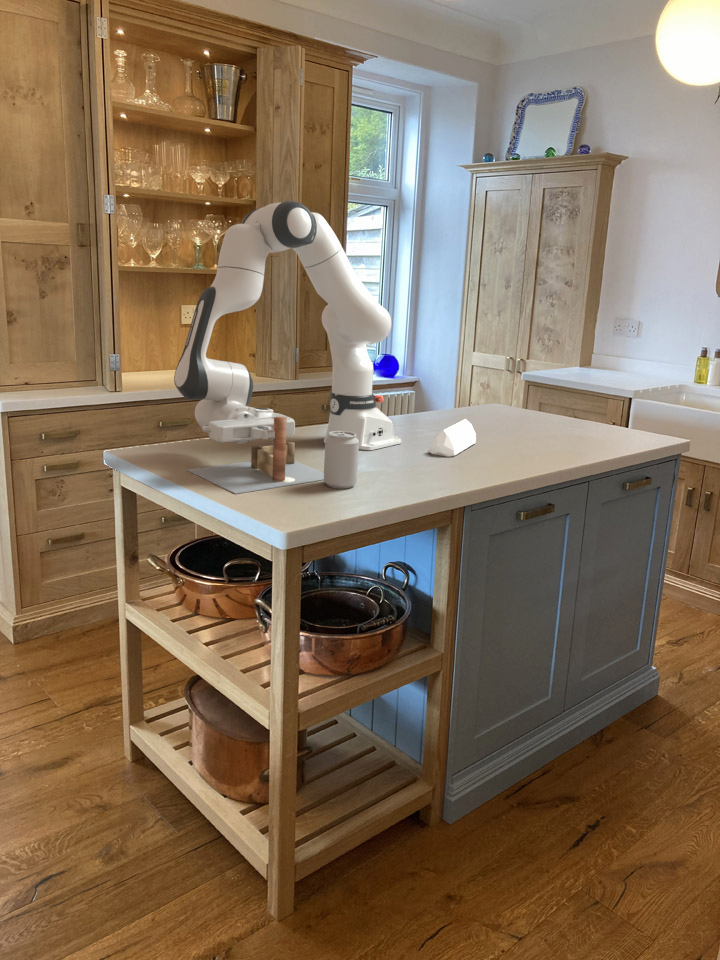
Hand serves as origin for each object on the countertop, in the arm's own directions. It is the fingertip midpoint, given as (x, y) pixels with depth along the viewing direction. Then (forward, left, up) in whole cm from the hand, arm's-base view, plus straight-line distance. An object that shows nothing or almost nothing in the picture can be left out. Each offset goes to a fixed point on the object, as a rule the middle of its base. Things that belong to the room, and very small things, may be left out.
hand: (270, 435), depth 170 cm
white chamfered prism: (-64, -5, -11) cm, 65 cm away
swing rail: (-3, -5, -10) cm, 12 cm away
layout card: (-3, -7, -11) cm, 13 cm away
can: (-13, +9, -11) cm, 19 cm away
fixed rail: (-9, -12, -11) cm, 18 cm away
